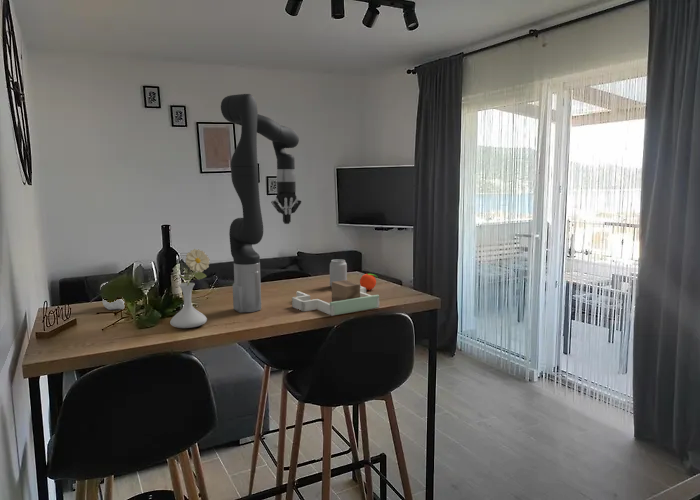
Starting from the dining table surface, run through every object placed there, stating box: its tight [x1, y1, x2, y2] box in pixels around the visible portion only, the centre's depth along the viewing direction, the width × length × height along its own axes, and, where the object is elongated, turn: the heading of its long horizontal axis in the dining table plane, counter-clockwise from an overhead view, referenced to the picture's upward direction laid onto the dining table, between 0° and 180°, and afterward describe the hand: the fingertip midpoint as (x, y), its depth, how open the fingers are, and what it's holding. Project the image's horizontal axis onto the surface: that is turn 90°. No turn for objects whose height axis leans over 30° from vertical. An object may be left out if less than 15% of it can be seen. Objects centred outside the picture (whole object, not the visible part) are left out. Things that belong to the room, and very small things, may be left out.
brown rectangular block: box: [331, 280, 361, 302], centre depth 185 cm, size 6×10×9 cm, turn 33°
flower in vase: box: [169, 248, 211, 329], centre depth 161 cm, size 13×11×25 cm
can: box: [329, 258, 348, 288], centre depth 219 cm, size 8×8×12 cm
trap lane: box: [291, 285, 380, 316], centre depth 190 cm, size 32×27×4 cm
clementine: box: [359, 273, 379, 291], centre depth 213 cm, size 8×7×7 cm
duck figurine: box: [100, 281, 126, 311], centre depth 184 cm, size 12×8×11 cm
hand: (286, 223), depth 205 cm, fingers closed
